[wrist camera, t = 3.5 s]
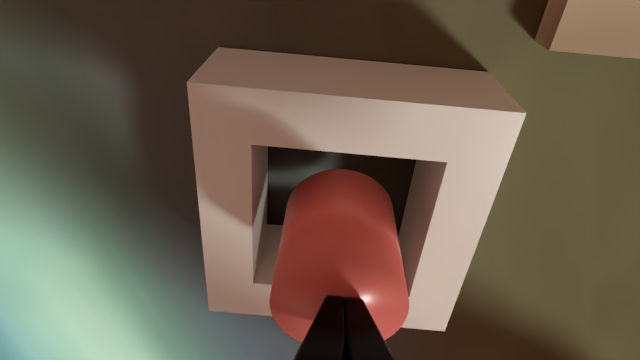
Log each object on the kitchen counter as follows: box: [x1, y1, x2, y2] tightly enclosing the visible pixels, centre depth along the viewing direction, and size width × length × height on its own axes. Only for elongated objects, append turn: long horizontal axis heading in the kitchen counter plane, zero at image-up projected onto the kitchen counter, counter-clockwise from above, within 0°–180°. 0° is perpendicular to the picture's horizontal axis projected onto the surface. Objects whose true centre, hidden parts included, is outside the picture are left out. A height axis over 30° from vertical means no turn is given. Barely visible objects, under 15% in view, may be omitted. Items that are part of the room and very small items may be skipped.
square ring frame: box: [187, 47, 526, 331], centre depth 13 cm, size 8×8×3 cm
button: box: [269, 169, 409, 343], centre depth 12 cm, size 3×3×4 cm
